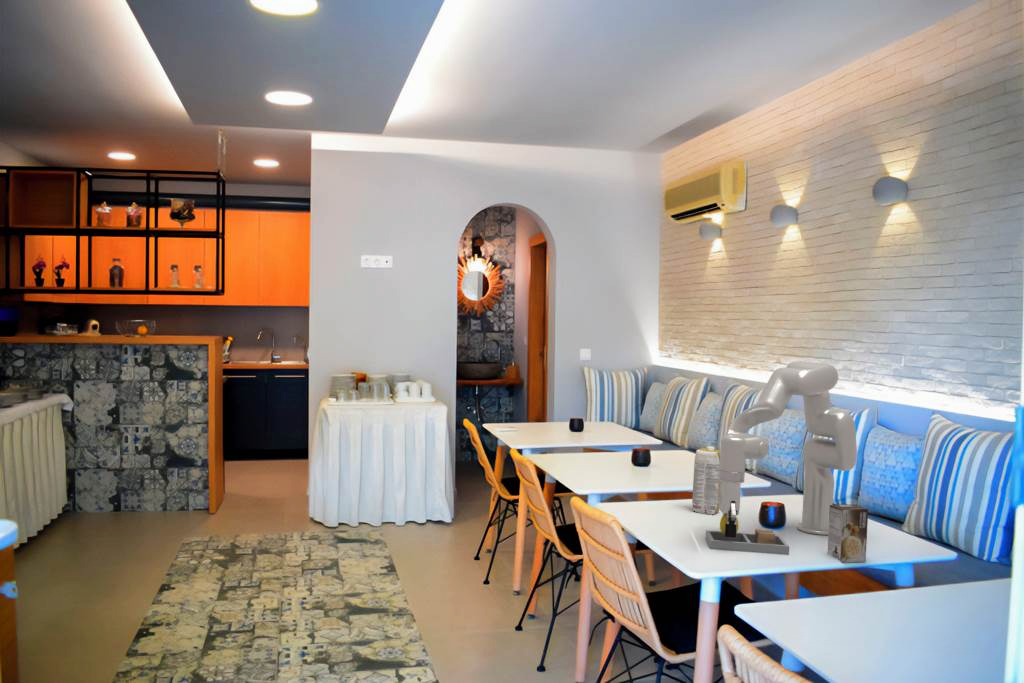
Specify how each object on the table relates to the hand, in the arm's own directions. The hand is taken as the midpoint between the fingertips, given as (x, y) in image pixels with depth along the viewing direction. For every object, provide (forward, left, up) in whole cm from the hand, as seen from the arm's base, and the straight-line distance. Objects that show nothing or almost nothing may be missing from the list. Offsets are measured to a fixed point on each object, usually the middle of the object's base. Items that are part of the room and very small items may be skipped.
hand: (728, 533), depth 251 cm
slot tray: (0, +5, -4) cm, 7 cm away
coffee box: (+3, +34, -5) cm, 35 cm away
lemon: (0, 0, -1) cm, 1 cm away
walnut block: (0, +11, -3) cm, 11 cm away
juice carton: (-47, -1, -5) cm, 47 cm away
